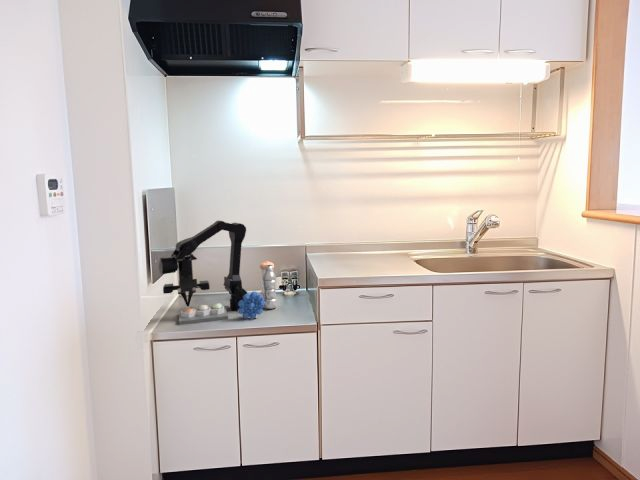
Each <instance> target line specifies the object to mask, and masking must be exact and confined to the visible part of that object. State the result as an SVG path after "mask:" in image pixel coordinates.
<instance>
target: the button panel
mask: <svg viewBox="0 0 640 480" xmlns="http://www.w3.org/2000/svg"><path fill="white" fill-rule="evenodd" d="M207 307H208V310H205V311H198V307H197V308H192V309H193V312H189V313H185V312H184V309H181V310H180V311H179V313H178V325H180V326H182V325H189V324H199V323H208V322H218V321H224V320H225V321H226V320H229V315H228V311H227V309H226V306H224V305H222V308H221V309H218V310H215V309H212V306H207Z"/></svg>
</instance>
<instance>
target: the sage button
mask: <svg viewBox="0 0 640 480" xmlns="http://www.w3.org/2000/svg"><path fill="white" fill-rule="evenodd" d="M222 306H223V305H222V303H219V302H218V303H217V302H216V303H213V304H212V305H211V307H212V309H215V310H218V309H221V308H222Z"/></svg>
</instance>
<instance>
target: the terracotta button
mask: <svg viewBox="0 0 640 480" xmlns="http://www.w3.org/2000/svg"><path fill="white" fill-rule="evenodd" d="M193 309H194V308H190V307H189V308H184V309H183V310H184V312H185V313H189V312H193Z"/></svg>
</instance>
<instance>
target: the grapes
mask: <svg viewBox="0 0 640 480" xmlns="http://www.w3.org/2000/svg"><path fill="white" fill-rule="evenodd" d="M243 299H244V300H240V301H239V303H238V305H239V306H240V308H239V309H238V310H237V312H238V314H239V315H241V316H242V318H243V319H244V320H246V319H248V318H250V319H251V320H253V319H256V317H257V315H261V314H262V313H263V308H265V307H264V306H265V301H264V300H262V299H263V295H262V294H261V293H260V294H259V293H258V292H257V291H255V290H254V291H252V292H250V294H249V293H247V294H245V295H244V296H243Z"/></svg>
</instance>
